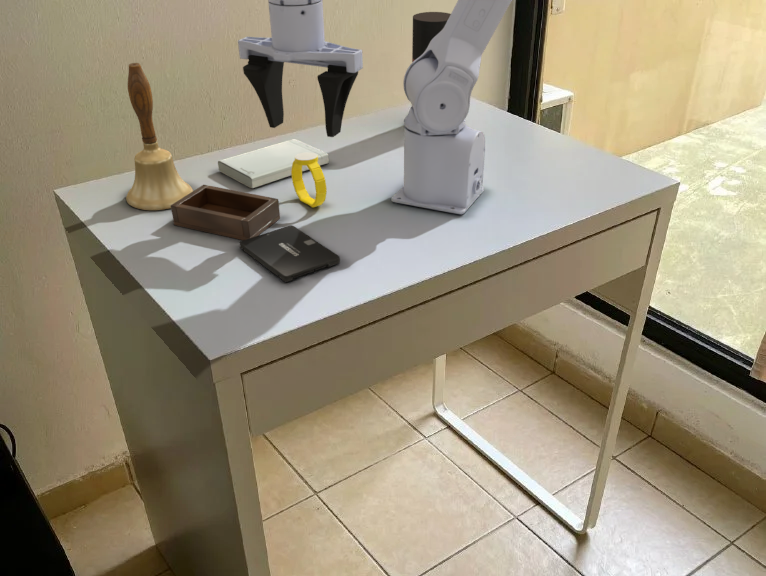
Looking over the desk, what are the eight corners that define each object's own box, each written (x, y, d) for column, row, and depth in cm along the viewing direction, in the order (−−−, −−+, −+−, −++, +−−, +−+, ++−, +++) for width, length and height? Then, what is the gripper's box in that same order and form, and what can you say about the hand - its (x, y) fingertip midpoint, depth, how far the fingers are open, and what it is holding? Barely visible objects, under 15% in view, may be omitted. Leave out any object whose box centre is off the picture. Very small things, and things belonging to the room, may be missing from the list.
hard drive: (251, 177, 98) (328, 152, 104) (216, 159, 103) (292, 136, 109) (253, 190, 99) (329, 164, 105) (218, 171, 104) (293, 148, 110)
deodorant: (408, 130, 115) (409, 21, 106) (414, 117, 120) (415, 11, 110) (448, 132, 114) (453, 22, 105) (452, 119, 119) (457, 12, 110)
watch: (333, 208, 94) (330, 161, 90) (313, 214, 93) (310, 166, 89) (307, 192, 98) (303, 146, 94) (288, 198, 97) (284, 151, 93)
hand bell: (207, 195, 97) (185, 62, 88) (151, 217, 93) (121, 78, 83) (169, 178, 102) (144, 49, 92) (113, 197, 97) (81, 64, 87)
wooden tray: (280, 218, 92) (278, 198, 91) (250, 241, 87) (247, 221, 86) (206, 203, 96) (203, 184, 94) (173, 225, 91) (170, 205, 89)
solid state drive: (292, 230, 89) (291, 224, 89) (341, 262, 83) (341, 257, 83) (239, 247, 86) (238, 241, 86) (285, 282, 80) (285, 277, 79)
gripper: (216, 2, 81) (233, 131, 89) (339, 14, 76) (344, 150, 84) (252, -11, 86) (265, 113, 94) (370, 0, 81) (372, 129, 89)
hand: (304, 129), depth 90 cm, fingers open, 7 cm apart
